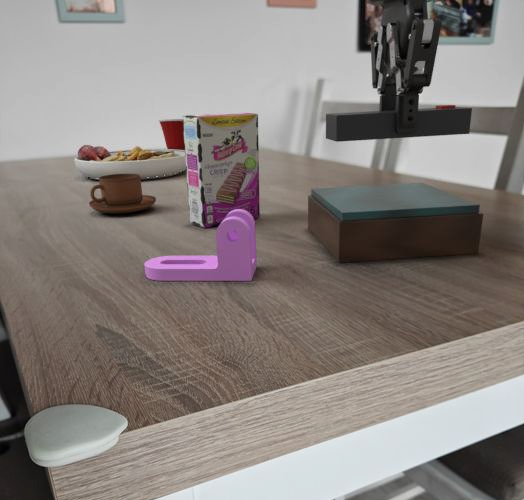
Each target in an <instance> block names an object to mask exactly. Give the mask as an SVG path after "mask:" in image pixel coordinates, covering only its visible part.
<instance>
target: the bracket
mask: <svg viewBox="0 0 524 500" xmlns="http://www.w3.org/2000/svg"><path fill="white" fill-rule="evenodd" d="M217 226H218V227H217V228H216V230H215V241H216V242H215V244H216V255H163V256H157V257H153V258H150V259H148V260H146V261H144V264H143V266H144V272H145V273H144V274H145V277H146V278H147V279H149V280H152V281H161V282H167V281H168V282H172V281H173V282H175V281H176V282H252V280H253V278H254V275H255V272H256V269H257V265H258V264H257V261H258V260H257V239H256V238H257V237H256V221H255V219H254V218H253V216H252V215H251V214H250V213H249V212H248V211H246V210H243V209H235V210H232V211H231V212H229V213H228V214H227V216H226V217H225V219H224V220H223V221H222V222H221V224H220V225H217Z"/></svg>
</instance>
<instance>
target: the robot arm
mask: <svg viewBox="0 0 524 500" xmlns="http://www.w3.org/2000/svg"><path fill="white" fill-rule="evenodd" d="M366 1H367V3H368V4H370V5H372V6H376V7H377V6H378V7H379V6H381V7H382V14H381V21H380V25H379V26H378V31H372V32H371V34H370V37H369V39H370V59H371V60H370V61H371V62H370V63H371V85H372V89H376V92H377V95H379V106H378V107H379V109H378V111H387V110H396V119H395V131H396V133H399V134H407V133H414V132H415V131H416V129H417V119H418V109H419V104H420V102H419V101H420V94H421V95H422V93H423V91H424V88H427V87H430V86H431V84H432V80H433V74H434V68H435V63H436V58H437V53H438V46H439V41H440V37H441V36H440V35H441V31H442V30H441V29H442V19H441V18H439V17H437V18H429V12H428V3H431V2H435V1H436V0H366Z"/></svg>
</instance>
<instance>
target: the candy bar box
mask: <svg viewBox="0 0 524 500" xmlns="http://www.w3.org/2000/svg"><path fill="white" fill-rule="evenodd" d="M182 119H183V131H184V146H185V159H186V170H185V171H186V187H187V199H188V201H187V202H188V212H189V213H188V214H189V223H190V224H192V225H195V226H198V227H200V228H204V229H205V228H210V227H216V226H219V225H220V224H221V222H222V221H223V220H224V219H225V217H226V216H227V214H228V213H229V212H231V211H232V210H235V209H243V210H246V211H248V212H249V213H250V214H251V215H252V216H253V218H254V220H255V219H260V217H261V213H260V211H261V210H260V164H259V161H260V159H259V157H260V155H259V114H258V113H255V112H228V113H204V114H188V115H187V114H185V115H182Z"/></svg>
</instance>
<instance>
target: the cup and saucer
mask: <svg viewBox="0 0 524 500" xmlns="http://www.w3.org/2000/svg"><path fill="white" fill-rule="evenodd" d="M98 182H99V184H95V185H93V186H92V187H91V189H90V194H89V195H90V198H91V200H90V201H89V203H88V205H89V207H90V208H91V209H92V210H94V211H96V212H98V213H104V214H114V215H115V214H116V215H117V214H119V215H120V214H121V215H122V214H131V213H137V212H140V211H144V210H147V209H150V208H151V207H153V206H154V205H155V203H156V202H157V197H155V196H153V195H149V194H143V188H142V180H141V177H140V175H139V174H113V175H106V176H101V177H99V180H98ZM99 189H100V195H101V197H100V198H97V197H96V196H95V192H96V191H97V190H99Z"/></svg>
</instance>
